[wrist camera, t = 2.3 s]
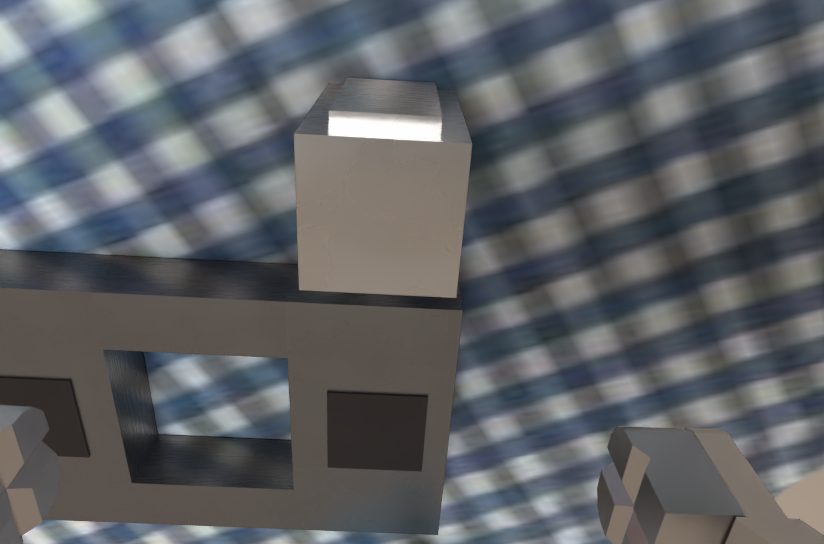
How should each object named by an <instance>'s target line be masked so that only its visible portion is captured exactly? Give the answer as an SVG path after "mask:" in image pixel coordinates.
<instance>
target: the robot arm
mask: <svg viewBox="0 0 824 544" xmlns="http://www.w3.org/2000/svg"><path fill="white" fill-rule="evenodd" d="M48 431H49V426H48V423H47V420H46V417H45V415H44V412H43V411H42V410H40V409H37V408H35V407H27V406H9V405H0V544H23V540H22V535H23V534H25V533H26V532H28V531H29V530H31V529H33V528H34V527H36V526H37V525H39V524H40V523H42V522H43V520H44V519H45V517H46V515H47V514H48V512H49V510H50V509H51V507H52V506H53V504H54V500H55V497H56V494H57V491H58V487H59V484H60V466H59V462H58V458H57V454H56V453H55V452H54V451H53V450H52V449H51V448H49V447H48V446H47V445H46V444H45V443H44V442H42V440H43V438H44V437H45V435H46V434H47V432H48ZM608 450H609V452H610V455H611V457H612V459H613V461H612V462H611V463H610V464H608V465H607V466H606V467H605V468H604V469H602V470H601V474H600V479H599V483H598V488H597V493H598V511H599V517H600V522H601V525H602V528H603V530H604V533H605V536H606V538H607V539H609V540H610V541H611V542H612V543H613V544H824V535H823V534H821V533H820V532H818V531H817V530H815V529H814V528H812V527H811V526H809V525H808V524H806V523H805V522H803V521H801V520H800V519H788V518H787V516H786V515H785V514H784V512H783V511H782V509H781V508H780V507H779V505H778V504H777V502H776V501H775V499H774V498H773V497H772V495H771V494H770V492H769V491H768V489H767V488H766V487H765V485H764V484H763V482H762V481H761V480H760V478H759V477H758V475H757V474H756V472H755V471H754V470H753V468H752V467H751V465H750V464H749V463H748V461H747V460H746V458H745V457H744V455H743V454H742V453H741V451H740V450H739V448H738V447H737V446H736V444H735V443H734V441H733V440H732V438H731V437H730V436H729V434H728V433H726V432H725V431H723V430H722V429H720V428H685V429H681V428H645V427H616V428H615V430H614V431H613V433H612V434H611V437H610V441H609V444H608Z"/></svg>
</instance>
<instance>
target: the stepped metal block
mask: <svg viewBox="0 0 824 544" xmlns="http://www.w3.org/2000/svg"><path fill="white" fill-rule="evenodd" d="M294 151H295V181H296V211H297V241H298V271H299V290H308V291H328V292H348V293H368V294H388V295H408V296H428V297H448V298H456V295H457V286H458V276H459V267H460V257H461V247H462V238H463V228H464V219H465V209H466V199H467V190H468V180H469V171H470V161H471V152H472V141H471V138H470V135H469V132H468V129H467V126H466V123H465V120H464V117H463V114H462V111H461V108H460V105H459V102H458V98H457V95H456V92H455V91H450V90H437V87H436V83H428V82H411V81H394V80H377V79H360V78H347V79H346V80H345V82H344V84H331V83H328V85H327V86H326V88H325V89H324V91H323V92H322V93H321V95H320V96H319V98H318V99H317V101H316V102H315V104H314V105H313V107H312V108H311V109H310V111H309V112H308V114H307V115H306V117H305V118H304V120H303V121H302V123H301V124H300V126H299V127H298V128H297V130H296V131H295V133H294Z"/></svg>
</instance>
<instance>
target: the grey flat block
mask: <svg viewBox="0 0 824 544" xmlns="http://www.w3.org/2000/svg"><path fill="white" fill-rule="evenodd" d="M462 314H463V308H462V301H461V294H460V287H459V280H458V286H457V295H456V298H448V297H428V296H408V295H388V294H368V293H348V292H328V291H308V290H299V271H298V265H293V264H273V263H254V262H234V261H214V260H194V259H175V258H155V257H135V256H115V255H96V254H76V253H56V252H36V251H17V250H0V405H9V406H27V407H35V408H37V409H40V410H42V411H43V412H44V415H45V417H46V420H47V423H48V426H49V431H48V432H47V434H46V435H45V437H44V438H43V440H42V442H44V443H45V444H46V445H47V446H48V447H49V448H51V449H52V450H53V451H54V452H55V453H56V454H57V458H58V462H59V466H60V484H59V487H58V491H57V494H56V497H55V500H54V504H53V506H52V507H51V509H50V510H49V512H48V514H47V515H46V517H45V519H44V520H70V521H95V522H121V523H147V524H172V525H198V526H223V527H249V528H274V529H300V530H325V531H351V532H376V533H402V534H427V535H438V529H439V520H440V511H441V502H442V493H443V485H444V476H445V467H446V458H447V449H448V440H449V431H450V422H451V413H452V404H453V395H454V386H455V377H456V368H457V359H458V350H459V341H460V332H461V323H462ZM143 351H144V352H166V353H187V354H209V355H230V356H252V357H273V358H288V376H289V398H290V420H291V440H268V439H245V438H222V437H199V436H175V435H158V434H157V428H156V423H155V417H154V412H153V406H152V400H151V395H150V389H149V384H148V378H147V373H146V367H145V362H144V356H143Z"/></svg>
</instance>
